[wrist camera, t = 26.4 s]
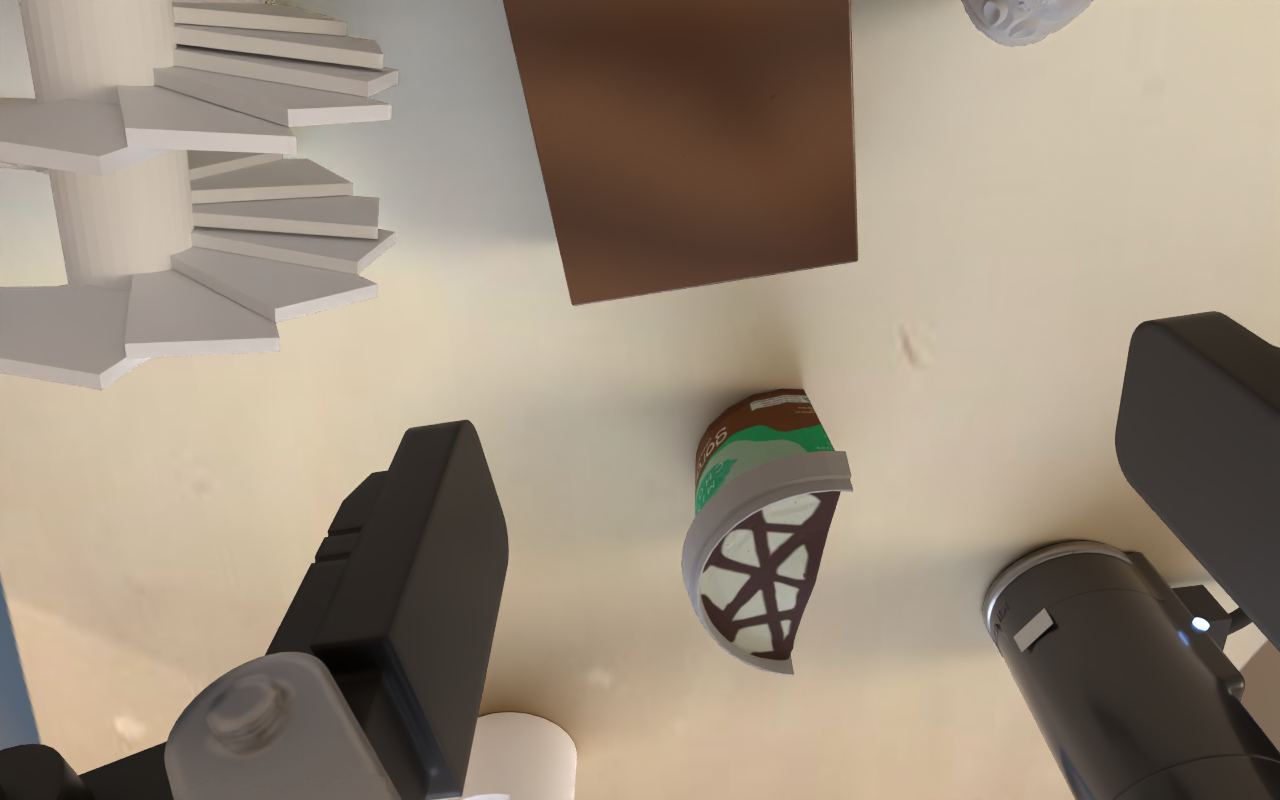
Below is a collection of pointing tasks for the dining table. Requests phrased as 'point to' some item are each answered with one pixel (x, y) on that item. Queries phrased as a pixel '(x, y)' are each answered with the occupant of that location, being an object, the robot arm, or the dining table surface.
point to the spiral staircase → (185, 180)
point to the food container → (761, 524)
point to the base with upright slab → (519, 760)
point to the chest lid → (690, 138)
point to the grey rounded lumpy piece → (1022, 18)
